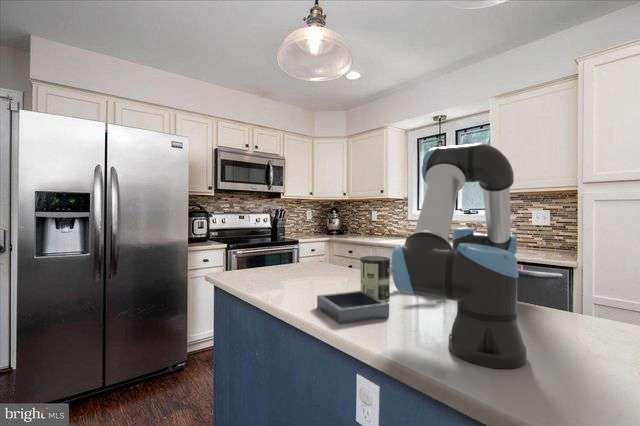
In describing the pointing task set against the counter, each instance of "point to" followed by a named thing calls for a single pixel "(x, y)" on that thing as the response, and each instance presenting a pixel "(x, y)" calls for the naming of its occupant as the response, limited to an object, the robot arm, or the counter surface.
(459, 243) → the robot arm
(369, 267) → the coffee can
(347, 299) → the tray
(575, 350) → the counter surface
